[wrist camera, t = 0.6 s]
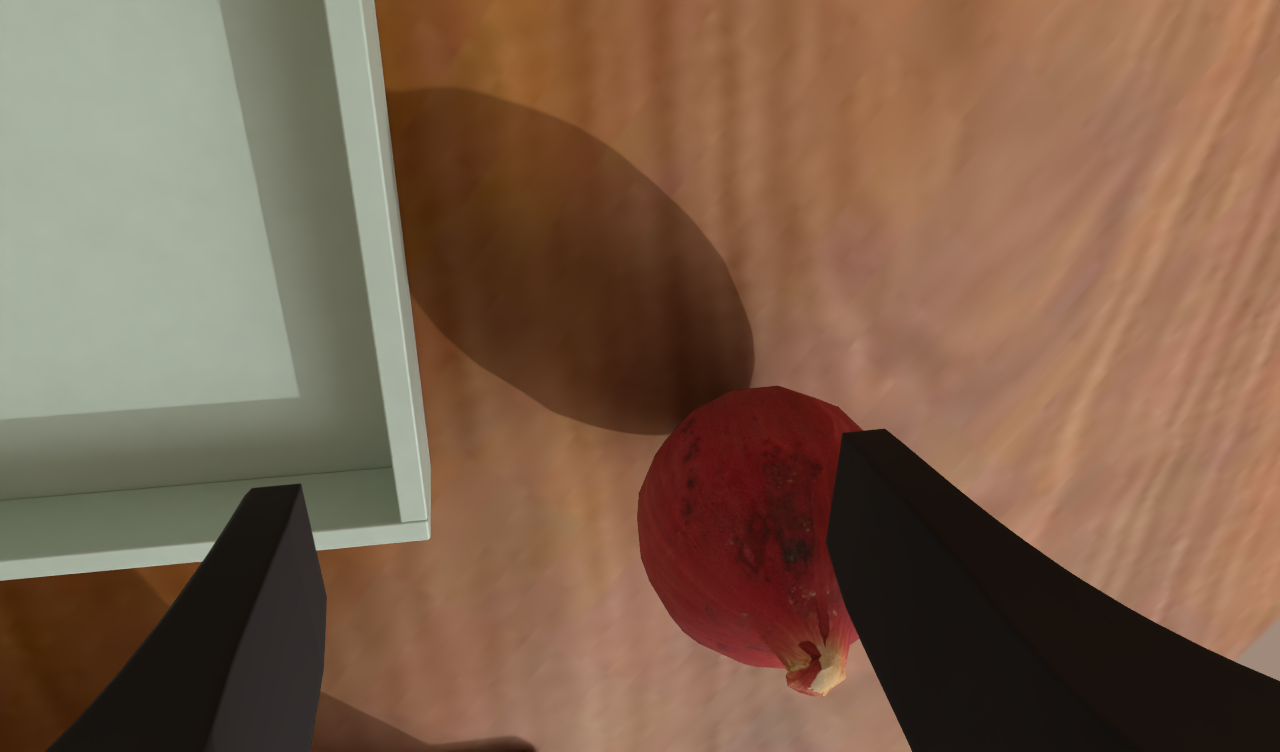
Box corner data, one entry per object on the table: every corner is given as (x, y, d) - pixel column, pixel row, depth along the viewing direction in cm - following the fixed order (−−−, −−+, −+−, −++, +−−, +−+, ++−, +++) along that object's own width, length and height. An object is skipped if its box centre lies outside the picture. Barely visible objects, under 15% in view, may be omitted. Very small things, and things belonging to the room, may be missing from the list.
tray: (430, 466, 25) (430, 540, 23) (-167, 518, 23) (-226, 603, 21) (322, -427, 16) (305, -439, 13) (-717, -462, 14) (-925, -482, 12)
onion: (610, 336, 24) (675, 591, 18) (851, 309, 25) (1000, 544, 18) (620, 523, 27) (678, 794, 21) (832, 494, 28) (953, 749, 22)
